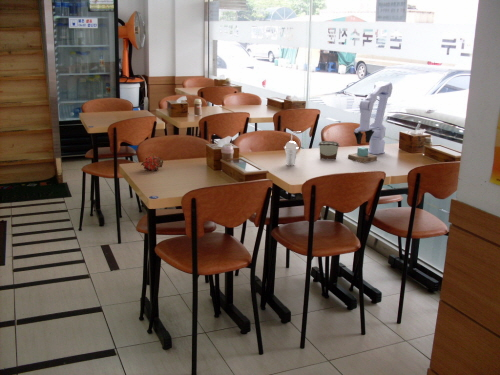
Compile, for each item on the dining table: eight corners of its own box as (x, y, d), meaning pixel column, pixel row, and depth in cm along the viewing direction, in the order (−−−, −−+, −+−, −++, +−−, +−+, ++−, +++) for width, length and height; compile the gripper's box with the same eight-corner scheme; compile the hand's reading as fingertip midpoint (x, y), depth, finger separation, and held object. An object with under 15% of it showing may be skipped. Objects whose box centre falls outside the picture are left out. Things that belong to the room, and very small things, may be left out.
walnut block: (361, 157, 332) (361, 152, 331) (376, 161, 322) (377, 156, 322) (347, 159, 325) (348, 154, 324) (363, 163, 315) (363, 158, 315)
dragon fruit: (165, 172, 291) (143, 177, 288) (162, 160, 295) (140, 165, 293) (164, 162, 284) (142, 167, 281) (161, 150, 289) (138, 155, 286)
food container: (337, 157, 326) (339, 141, 324) (338, 159, 321) (339, 143, 318) (317, 156, 328) (318, 140, 325) (317, 159, 322) (318, 142, 319)
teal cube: (362, 154, 326) (362, 146, 324) (367, 155, 322) (368, 148, 321) (357, 155, 323) (357, 147, 322) (362, 156, 320) (363, 149, 318)
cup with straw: (289, 162, 312) (291, 128, 306) (301, 165, 306) (303, 130, 300) (280, 164, 306) (281, 130, 300) (292, 168, 300) (293, 132, 294)
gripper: (368, 118, 326) (366, 140, 330) (351, 120, 318) (349, 143, 322) (377, 120, 321) (375, 142, 325) (360, 122, 313) (358, 145, 317)
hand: (363, 143), depth 323 cm, fingers open, 7 cm apart
